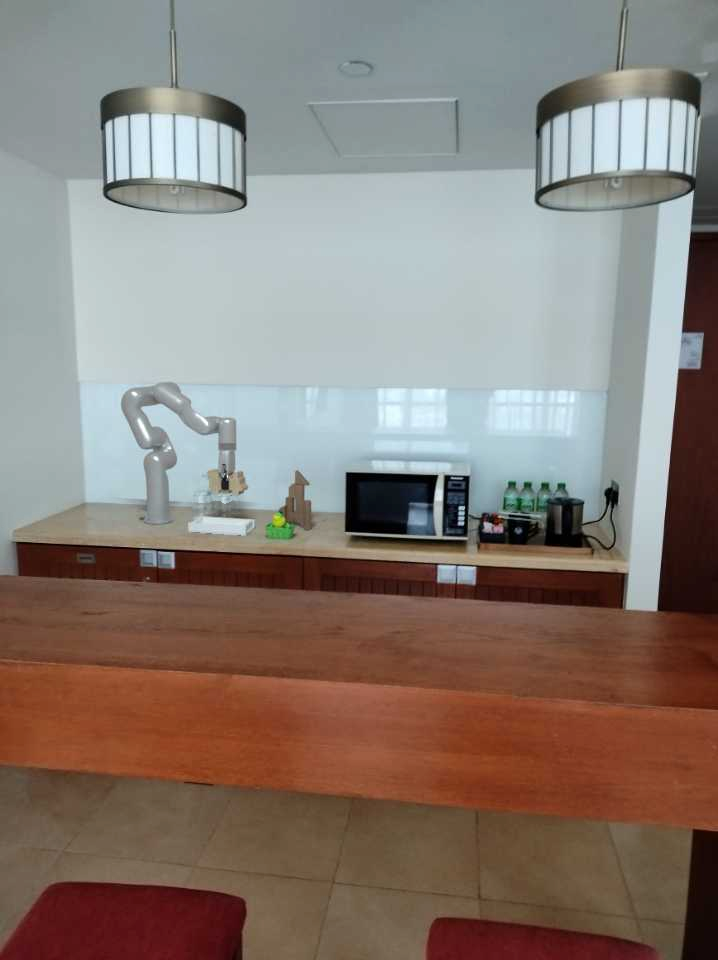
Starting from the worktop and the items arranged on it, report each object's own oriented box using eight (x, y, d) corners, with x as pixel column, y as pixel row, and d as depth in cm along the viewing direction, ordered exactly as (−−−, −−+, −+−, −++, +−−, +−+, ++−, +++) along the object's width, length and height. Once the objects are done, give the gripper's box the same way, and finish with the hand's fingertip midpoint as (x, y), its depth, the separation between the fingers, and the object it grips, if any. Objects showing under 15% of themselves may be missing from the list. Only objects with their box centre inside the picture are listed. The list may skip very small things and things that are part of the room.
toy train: (242, 496, 290) (242, 473, 289) (207, 493, 295) (206, 470, 293) (248, 494, 296) (248, 471, 294) (213, 491, 300) (213, 468, 299)
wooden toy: (276, 527, 299) (276, 471, 295) (282, 523, 306) (283, 468, 301) (309, 530, 295) (309, 473, 290) (315, 527, 301) (315, 471, 296)
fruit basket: (296, 536, 285) (296, 510, 283) (289, 541, 277) (290, 514, 275) (270, 534, 287) (270, 508, 285) (263, 539, 279) (263, 512, 277)
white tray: (188, 532, 287) (188, 523, 287) (200, 525, 300) (200, 516, 299) (245, 536, 284) (245, 526, 283) (255, 528, 296) (255, 519, 296)
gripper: (225, 443, 301) (225, 484, 304) (212, 449, 284) (212, 491, 287) (241, 444, 300) (241, 484, 303) (229, 449, 283) (230, 492, 286)
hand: (227, 487), depth 295 cm, fingers closed on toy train, 6 cm apart
